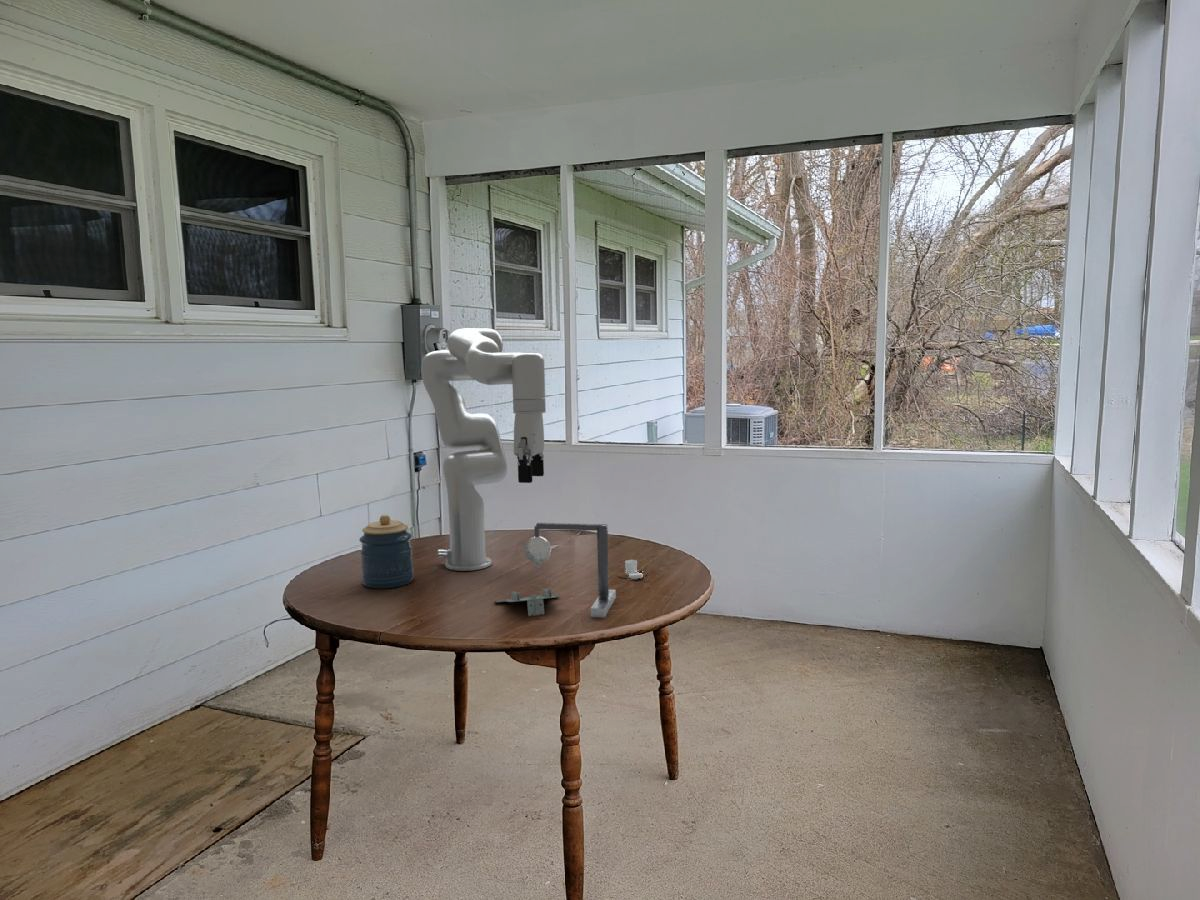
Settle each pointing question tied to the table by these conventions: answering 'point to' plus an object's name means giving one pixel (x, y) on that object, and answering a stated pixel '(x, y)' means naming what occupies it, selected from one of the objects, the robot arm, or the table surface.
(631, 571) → the white ring with cylinder
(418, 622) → the table surface
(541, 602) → the metal bracket
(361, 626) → the table surface
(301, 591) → the table surface
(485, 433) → the robot arm
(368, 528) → the canister
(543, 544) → the metal desk lamp
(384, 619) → the table surface
